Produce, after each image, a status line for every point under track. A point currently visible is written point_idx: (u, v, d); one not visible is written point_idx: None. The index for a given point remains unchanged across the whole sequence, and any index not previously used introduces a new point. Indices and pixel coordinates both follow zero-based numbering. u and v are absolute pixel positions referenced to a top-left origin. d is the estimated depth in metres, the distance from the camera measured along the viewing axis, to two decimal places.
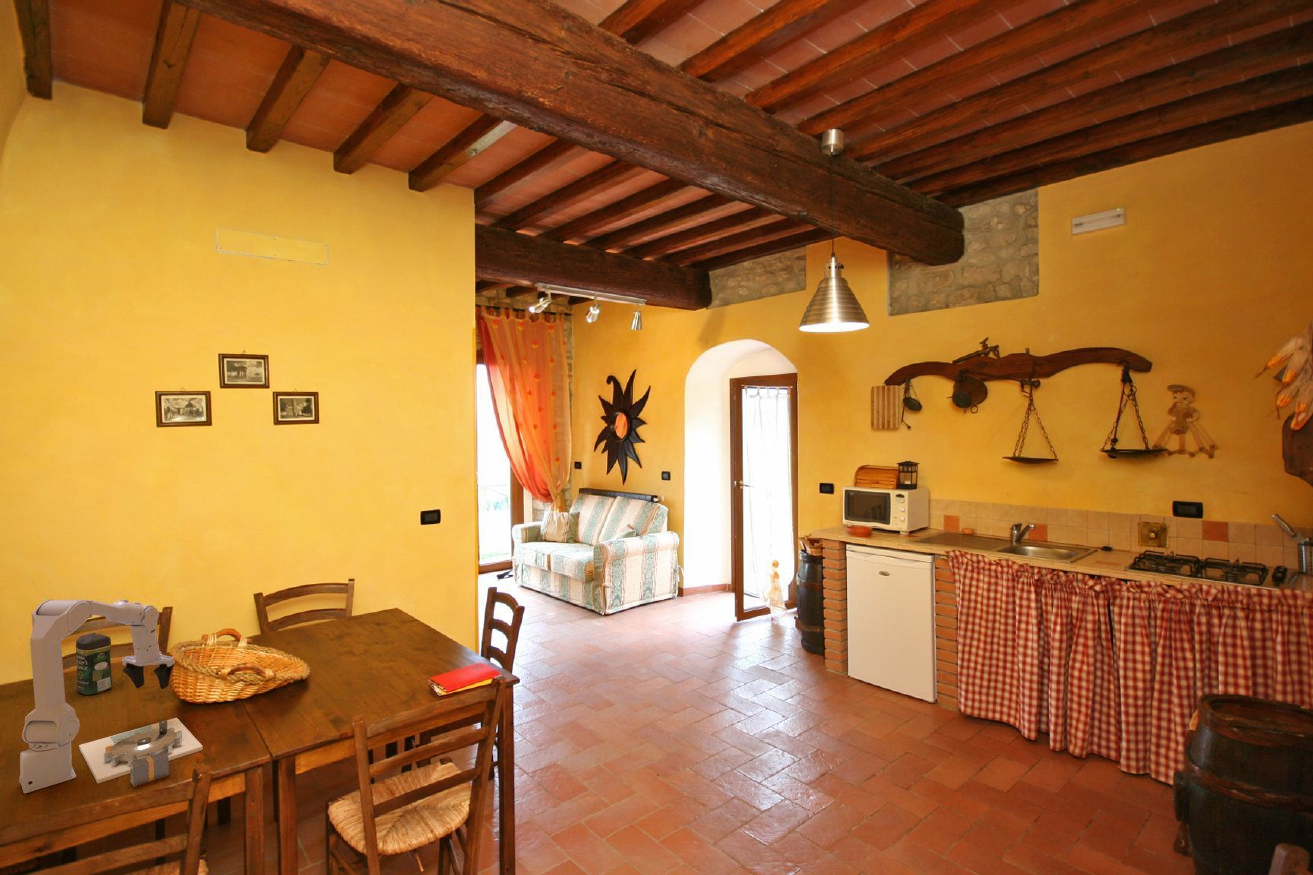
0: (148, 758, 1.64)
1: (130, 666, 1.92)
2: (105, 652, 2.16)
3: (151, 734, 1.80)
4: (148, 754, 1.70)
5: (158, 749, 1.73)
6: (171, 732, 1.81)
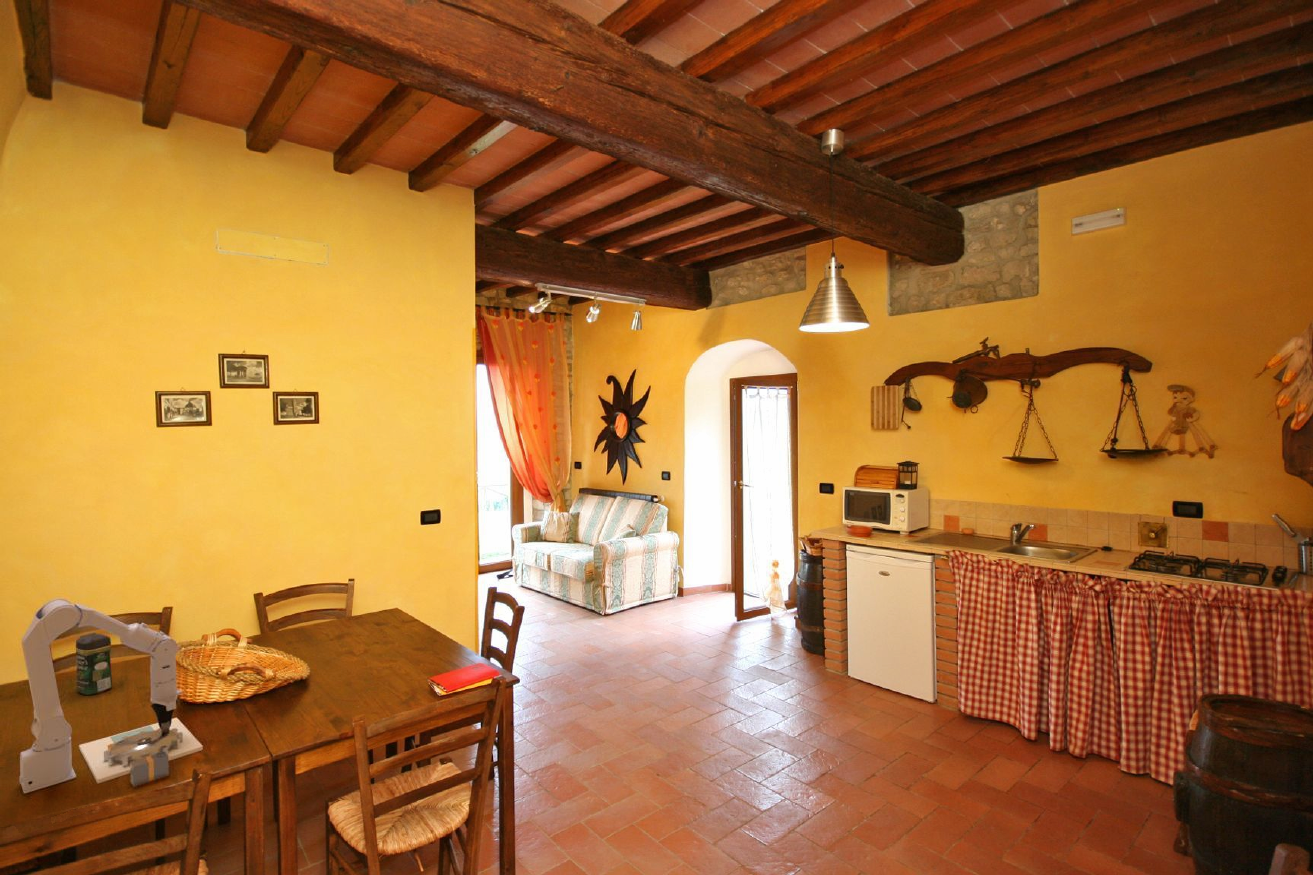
0: (148, 758, 1.64)
1: None
2: (105, 652, 2.16)
3: (154, 734, 1.80)
4: (142, 755, 1.69)
5: (154, 751, 1.72)
6: (172, 733, 1.81)
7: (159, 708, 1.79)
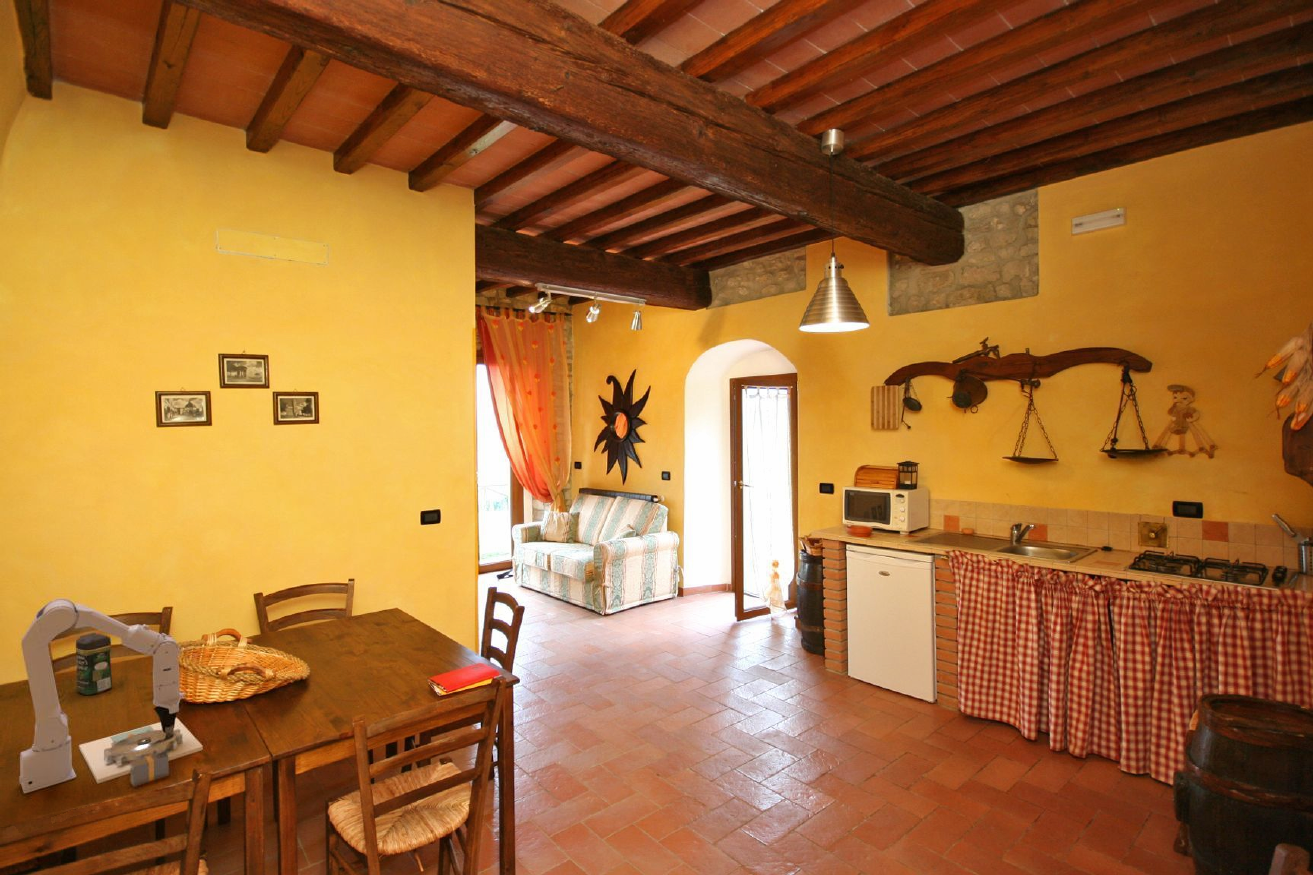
0: (148, 758, 1.64)
1: None
2: (105, 652, 2.16)
3: (163, 735, 1.79)
4: None
5: (130, 757, 1.69)
6: (170, 740, 1.77)
7: (162, 711, 1.77)
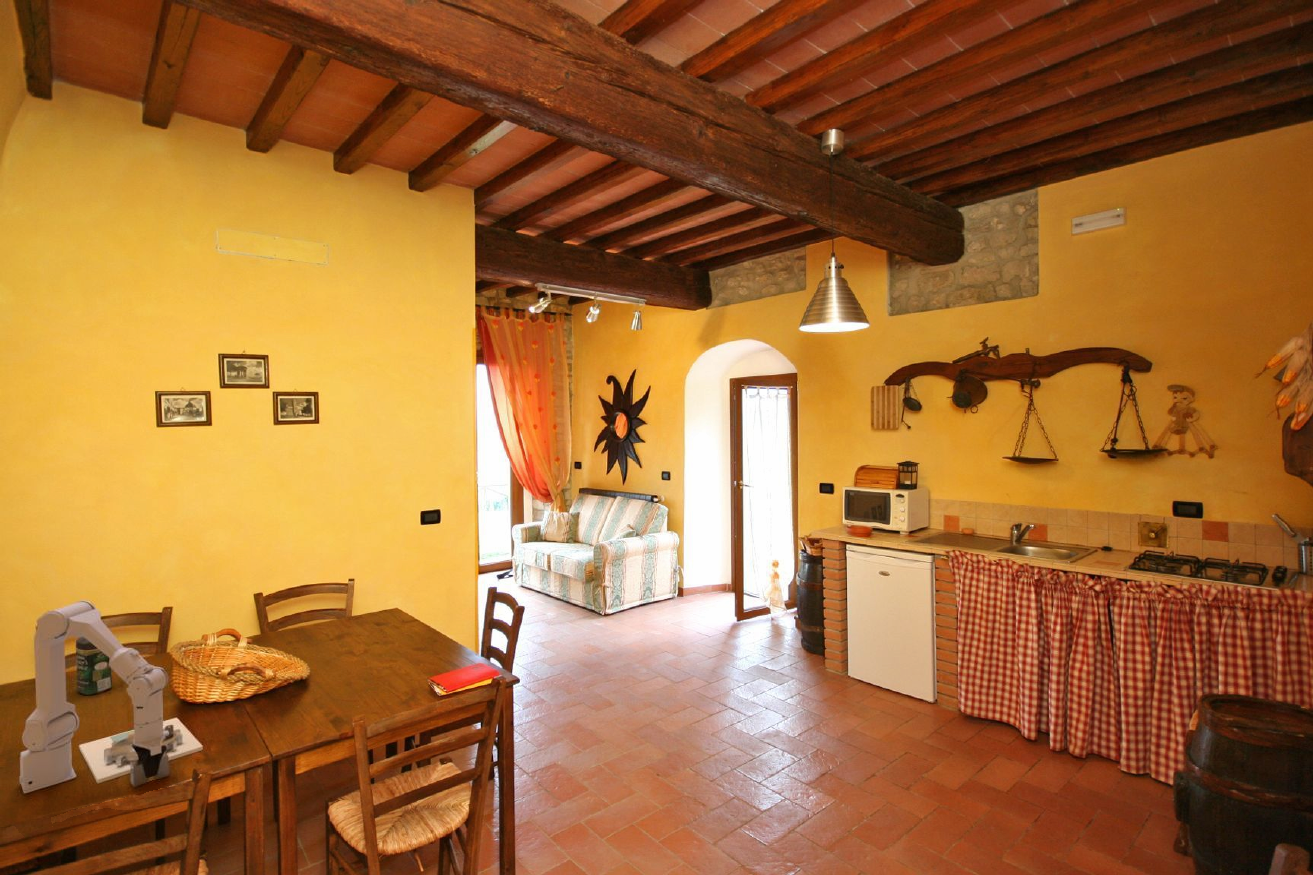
0: None
1: None
2: None
3: None
4: None
5: (130, 757, 1.69)
6: (170, 740, 1.77)
7: (145, 755, 1.60)
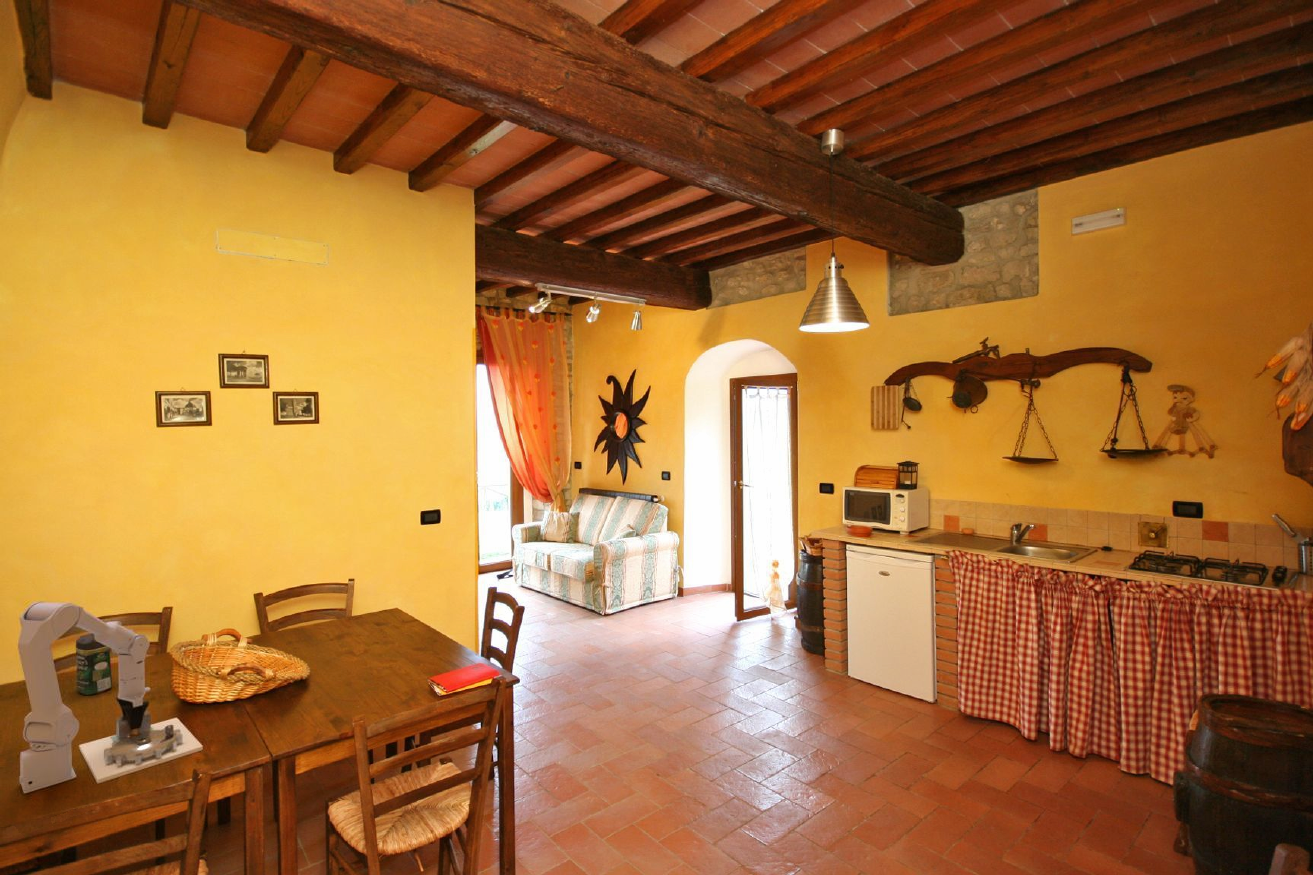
0: None
1: None
2: (105, 652, 2.16)
3: (163, 735, 1.79)
4: None
5: (130, 757, 1.69)
6: (170, 740, 1.77)
7: (130, 709, 1.79)
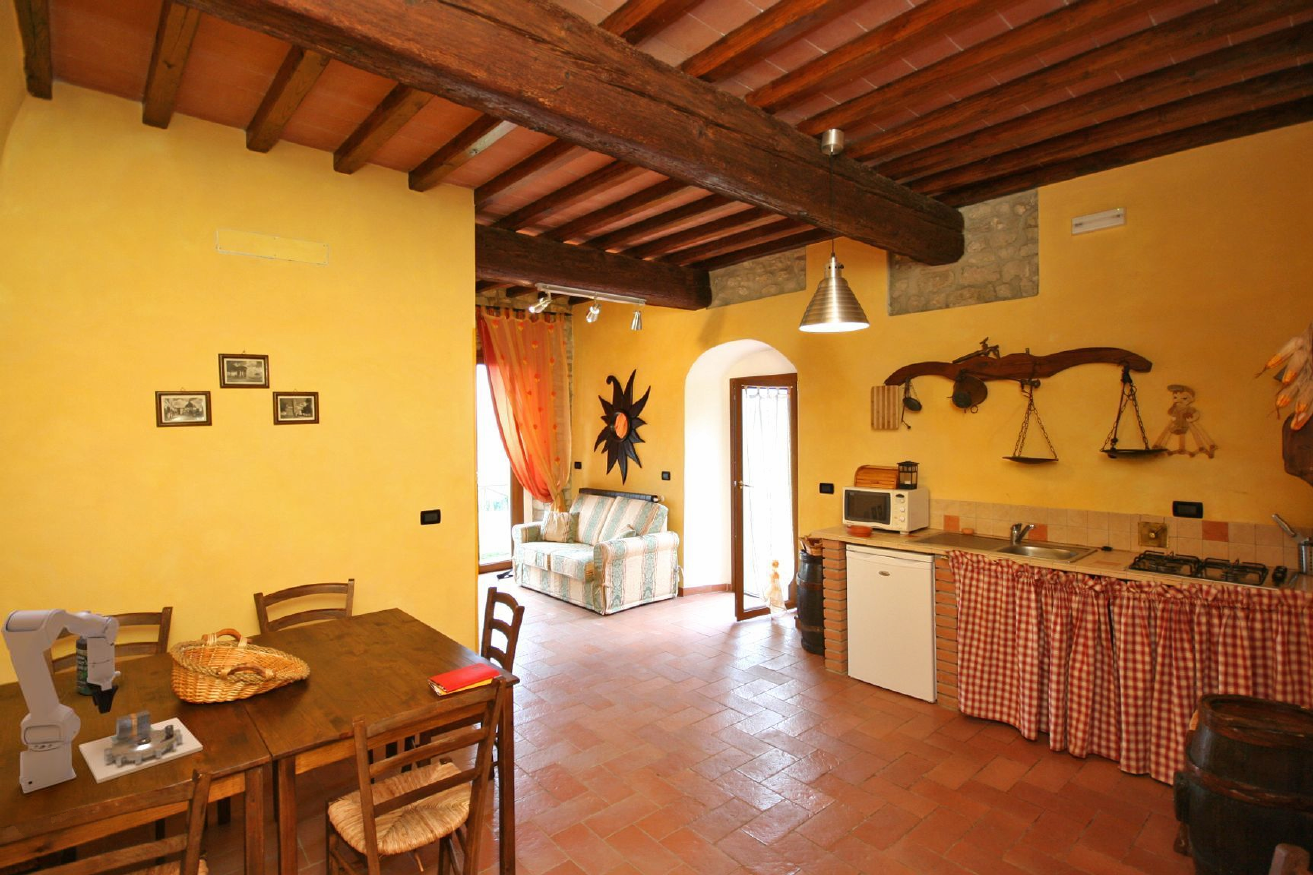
0: (132, 715, 1.85)
1: None
2: None
3: (163, 735, 1.79)
4: None
5: (130, 757, 1.69)
6: (170, 740, 1.77)
7: (98, 692, 1.77)
